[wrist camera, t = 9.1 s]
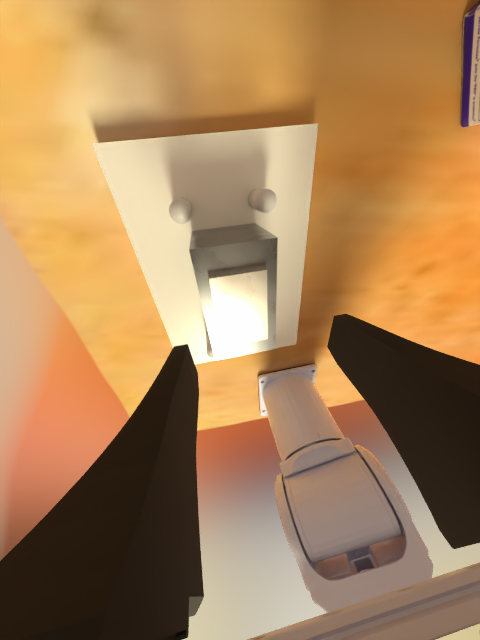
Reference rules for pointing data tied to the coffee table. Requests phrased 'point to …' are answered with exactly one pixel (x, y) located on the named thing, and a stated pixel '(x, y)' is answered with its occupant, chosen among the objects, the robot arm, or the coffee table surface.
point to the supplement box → (471, 68)
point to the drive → (237, 287)
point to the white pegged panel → (213, 213)
